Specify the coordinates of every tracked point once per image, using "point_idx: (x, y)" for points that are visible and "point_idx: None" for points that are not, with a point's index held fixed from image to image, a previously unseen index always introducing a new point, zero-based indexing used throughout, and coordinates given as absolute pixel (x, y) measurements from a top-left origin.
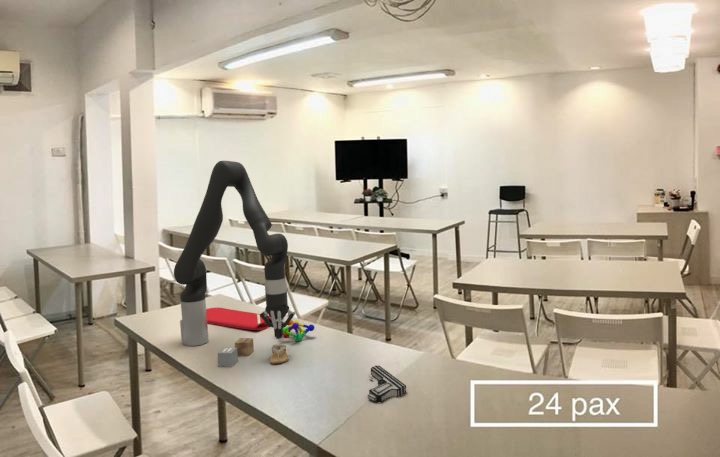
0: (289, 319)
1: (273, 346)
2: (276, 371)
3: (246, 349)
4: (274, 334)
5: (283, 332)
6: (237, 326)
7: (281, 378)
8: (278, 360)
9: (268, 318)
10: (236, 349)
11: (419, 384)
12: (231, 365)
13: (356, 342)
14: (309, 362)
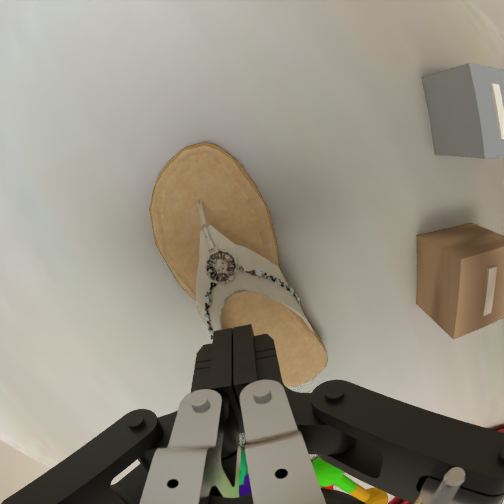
0: (52, 479)
1: (272, 284)
2: (139, 73)
3: (445, 243)
4: (274, 346)
5: (316, 461)
6: (501, 431)
7: (79, 22)
8: (183, 180)
9: (392, 475)
10: (479, 148)
11: None
12: (428, 77)
13: (46, 448)
14: (43, 246)
